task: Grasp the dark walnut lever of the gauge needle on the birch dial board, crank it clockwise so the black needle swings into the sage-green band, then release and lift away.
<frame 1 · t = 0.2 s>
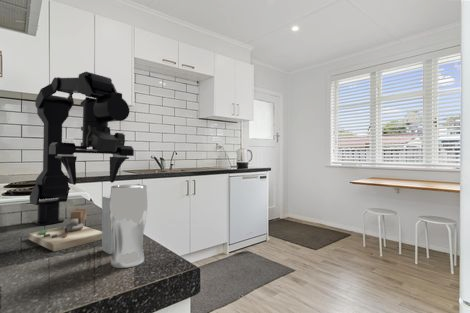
hand: (94, 183, 67), 14 cm above the worktop, fingers open, 9 cm apart
dial board: (67, 238, 65), on the worktop
gauge needle: (74, 220, 69), point 4 cm above the worktop, hinge at 0.0°
beer glass: (127, 262, 51), on the worktop
skincare box: (118, 250, 58), on the worktop
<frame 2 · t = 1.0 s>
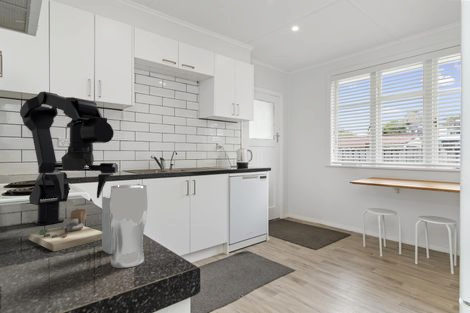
hand: (80, 198, 74), 9 cm above the worktop, fingers open, 9 cm apart
nothing on the worktop moved.
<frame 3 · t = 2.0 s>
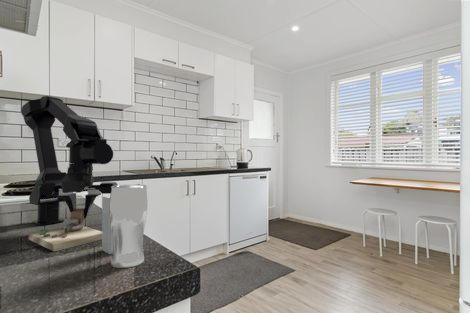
hand: (79, 218, 73), 3 cm above the worktop, fingers closed on gauge needle, 2 cm apart
gauge needle: (74, 220, 69), point 4 cm above the worktop, hinge at 0.0°, touching gripper
everything else where it was.
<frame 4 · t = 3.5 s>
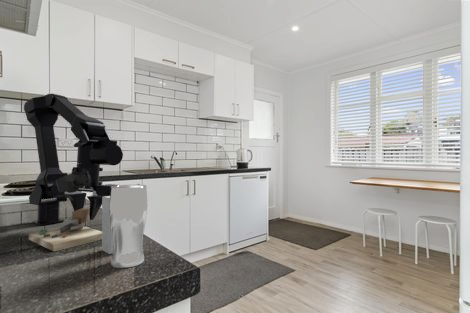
hand: (85, 219, 73), 3 cm above the worktop, fingers open, 4 cm apart
gauge needle: (75, 220, 69), point 4 cm above the worktop, hinge at -10.6°, touching gripper
everything else where it was.
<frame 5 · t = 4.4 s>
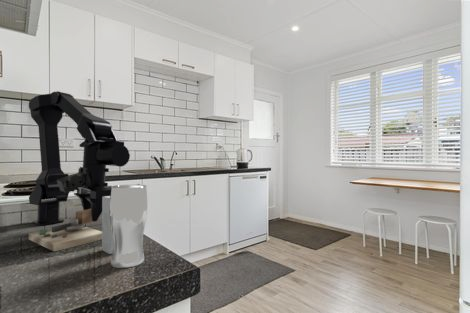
hand: (91, 219, 73), 3 cm above the worktop, fingers open, 4 cm apart
gauge needle: (76, 220, 69), point 4 cm above the worktop, hinge at -34.9°, touching gripper
everything else where it was.
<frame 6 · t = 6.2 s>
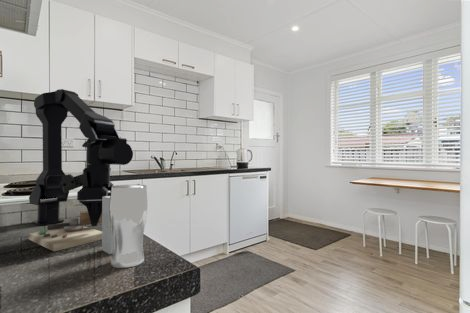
hand: (97, 221, 70), 3 cm above the worktop, fingers open, 9 cm apart
gauge needle: (76, 220, 69), point 4 cm above the worktop, hinge at -70.9°
everything else where it was.
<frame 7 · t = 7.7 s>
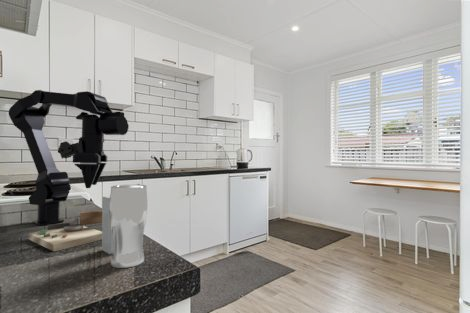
hand: (91, 186, 79), 12 cm above the worktop, fingers open, 9 cm apart
nothing on the worktop moved.
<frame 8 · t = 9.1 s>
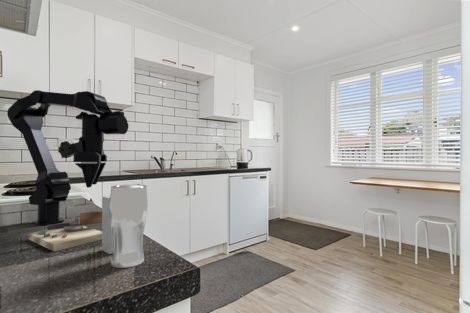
hand: (91, 185, 79), 12 cm above the worktop, fingers open, 9 cm apart
nothing on the worktop moved.
at the end: gauge needle at -71° (first picture: +0°); the gripper is holding nothing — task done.
